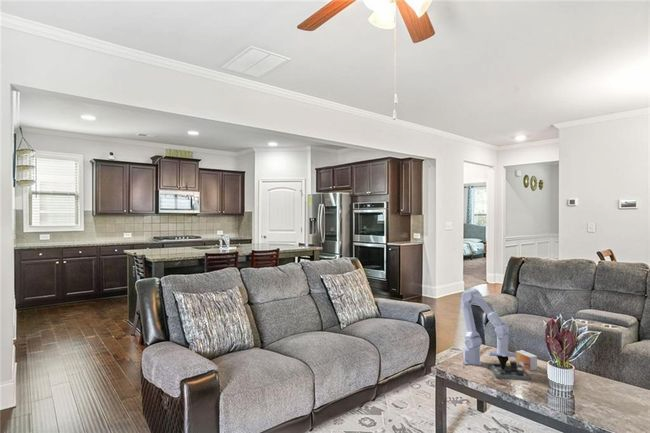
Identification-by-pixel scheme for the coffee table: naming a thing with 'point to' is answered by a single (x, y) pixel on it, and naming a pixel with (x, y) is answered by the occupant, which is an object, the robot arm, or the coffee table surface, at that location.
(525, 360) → the small box
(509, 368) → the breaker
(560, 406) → the coffee table surface
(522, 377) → the breaker panel
